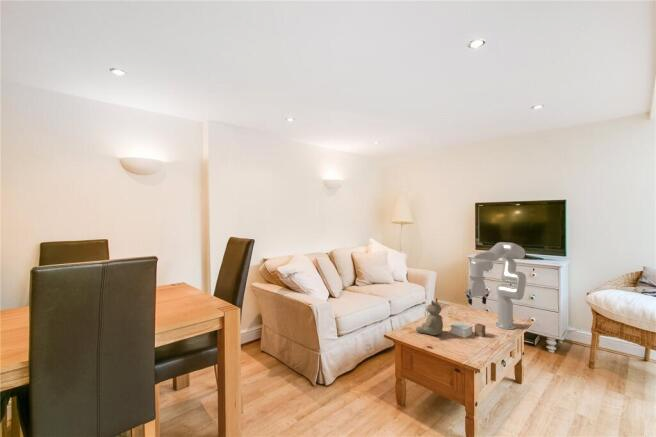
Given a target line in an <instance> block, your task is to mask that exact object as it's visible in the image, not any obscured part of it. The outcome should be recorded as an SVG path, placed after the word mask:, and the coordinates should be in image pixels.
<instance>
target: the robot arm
mask: <svg viewBox="0 0 656 437" xmlns="http://www.w3.org/2000/svg"><path fill="white" fill-rule="evenodd" d="M525 256H526V250H525V249H524V248H523V247H522V246H520V245H518V244H517V243H514V242H504V241H502V242H501V241H500V242H496V244H495V245H493V246H492V247H491V248H489V250H486V251H483V252H480V253H477V254H475V255H474V256H473V257H472V258H471V260H470V262H469V265H470V280H469V282H468V288H467V290H466V291H464V295H465V297H466V298H467V299H468V300H467V301H468V305H471V306H472V305H473V299H472V298H474V297H481V303H482V304H483V305H486V304H487V299H488V297H489V295H490V291H489V290H487V289H486V283H485V281H484V280H485V279H486V277H484V272H489V271H491V270H492V269H494V263H493V262H496V261H499V260H500V259H502V263H503V264H502V270H501V278H500V279H501V281H502V282H504V283H500V284H498V285H497V286H496V294H497V306H498V307H497V311H498V312H497V316H498V317H497V319H498V320H497V322H495V326H496V327H498V328H500V329H505V330H515V329H516V325H515V324H514V321H515V319H514V304H513V303H514V302H513V301H512V300H517V301H521V300H522V299H524V296H525V290H526V284H527V276H526V273H524V272H523V271H517V262H516V260H514V259H519V260H522V259H524V258H525ZM506 283H508V284H506ZM511 284H513V285H511Z"/></svg>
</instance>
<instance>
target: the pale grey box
mask: <svg viewBox="0 0 656 437" xmlns="http://www.w3.org/2000/svg"><path fill="white" fill-rule="evenodd" d="M473 327H474V326H473V325H471V324H467V323H464V322H461V321H457V322H455V323H453V324H450V334H452V335H455V336H458V337H460V338H463V339H466V338H468V337H470V336H473Z"/></svg>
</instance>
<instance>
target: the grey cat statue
mask: <svg viewBox="0 0 656 437" xmlns="http://www.w3.org/2000/svg"><path fill="white" fill-rule="evenodd" d="M424 308H425V310H426V312H428V313H429V314H428V315H427V317H426V319H425V320H426V321H425V322H424V323H423V322H422V324H421V326H417V327H416V328H415V331H416V332H417V333H419V334H424V335H425V334H427V335H431V336H438V335H440V334H441V333H442V331H443V328H444V324H443V323H444V322H443V316H442V315H441V314H440V313H441V312H442V307H441V304H440V303H439V302H438V298H437V297H436V298H435V301H434V300H431V303H430V304H428V305H427V306H424Z"/></svg>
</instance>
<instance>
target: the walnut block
mask: <svg viewBox="0 0 656 437" xmlns="http://www.w3.org/2000/svg"><path fill="white" fill-rule="evenodd" d="M474 336H477V337H481V338H483V337H485V336H486V325H485V324H482V323H476V324H474Z"/></svg>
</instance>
